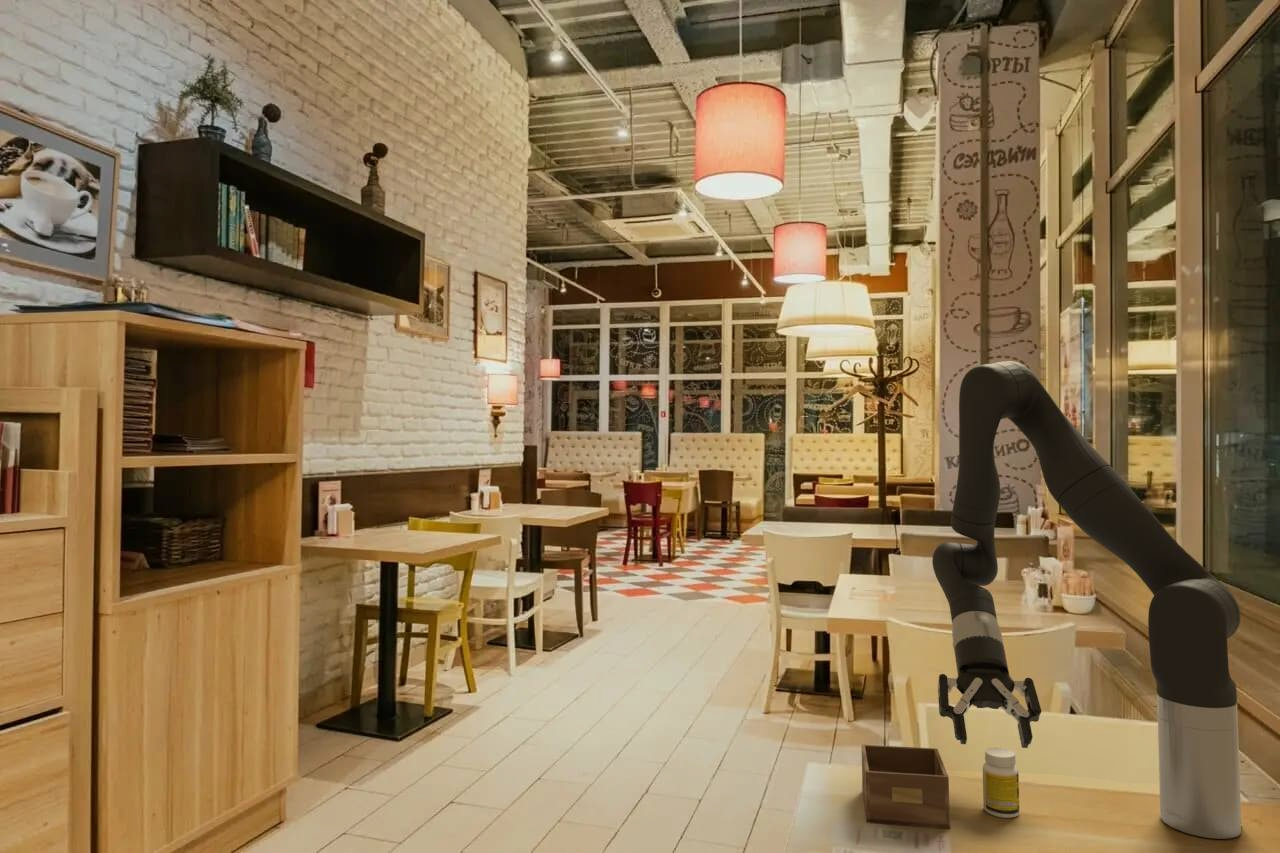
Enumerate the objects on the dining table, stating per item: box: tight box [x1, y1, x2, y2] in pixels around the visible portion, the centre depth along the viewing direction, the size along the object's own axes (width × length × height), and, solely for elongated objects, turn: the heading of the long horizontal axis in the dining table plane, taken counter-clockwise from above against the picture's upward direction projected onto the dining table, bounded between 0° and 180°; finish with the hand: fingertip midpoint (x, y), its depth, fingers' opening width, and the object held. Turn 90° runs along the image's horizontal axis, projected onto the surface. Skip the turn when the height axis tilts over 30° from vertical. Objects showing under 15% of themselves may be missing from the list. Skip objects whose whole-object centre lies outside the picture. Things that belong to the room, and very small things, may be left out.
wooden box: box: [861, 744, 951, 829], centre depth 122 cm, size 11×11×7 cm
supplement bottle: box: [982, 747, 1020, 819], centre depth 121 cm, size 5×5×8 cm
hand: (994, 743), depth 124 cm, fingers open, 8 cm apart
